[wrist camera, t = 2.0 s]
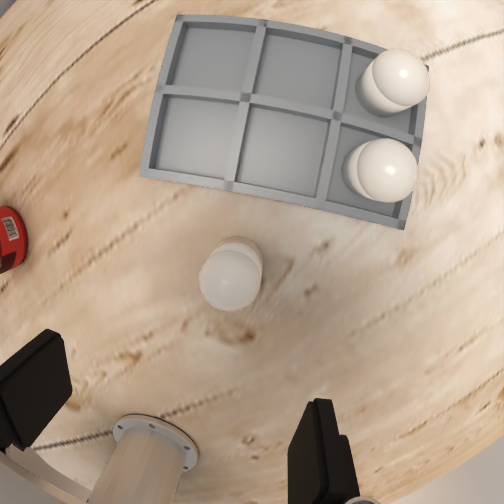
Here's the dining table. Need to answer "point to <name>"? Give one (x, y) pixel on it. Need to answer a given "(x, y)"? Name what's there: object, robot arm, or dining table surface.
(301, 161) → the egg carton
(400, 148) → the seated egg
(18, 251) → the canned food
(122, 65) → the dining table surface
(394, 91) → the seated egg
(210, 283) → the loose egg
